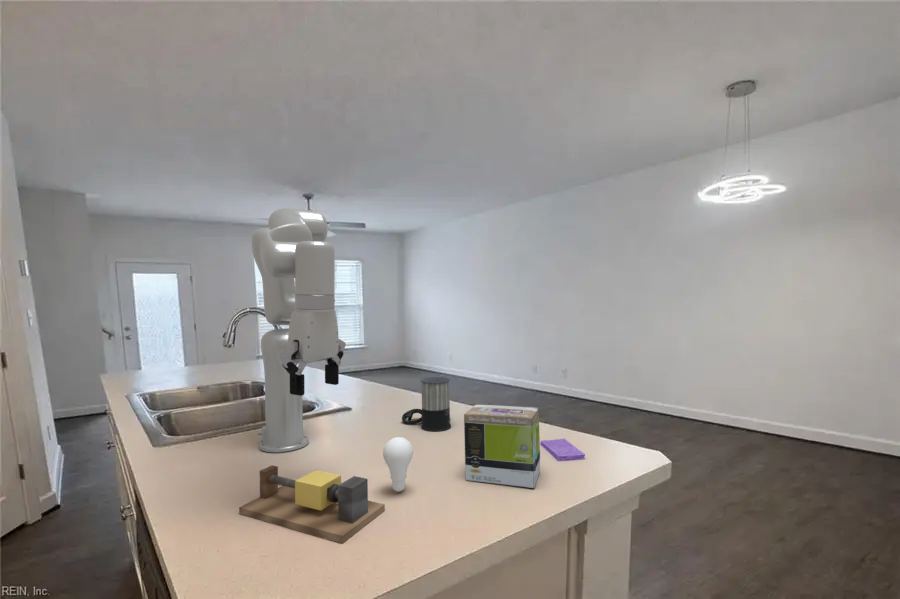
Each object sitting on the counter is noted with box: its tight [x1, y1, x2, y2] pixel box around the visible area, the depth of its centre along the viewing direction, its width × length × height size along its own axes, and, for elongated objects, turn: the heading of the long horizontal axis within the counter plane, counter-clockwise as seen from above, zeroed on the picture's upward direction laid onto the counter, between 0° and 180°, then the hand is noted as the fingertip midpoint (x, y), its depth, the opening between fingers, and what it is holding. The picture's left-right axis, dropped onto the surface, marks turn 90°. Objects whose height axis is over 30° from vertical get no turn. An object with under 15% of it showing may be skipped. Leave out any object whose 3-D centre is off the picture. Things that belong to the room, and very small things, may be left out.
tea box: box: [463, 403, 541, 489], centre depth 97 cm, size 15×10×15 cm, turn 71°
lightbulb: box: [382, 436, 414, 493], centre depth 90 cm, size 6×6×11 cm
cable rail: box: [238, 464, 386, 544], centre depth 81 cm, size 24×12×7 cm, turn 65°
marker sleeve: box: [295, 470, 342, 510], centre depth 81 cm, size 6×5×4 cm
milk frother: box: [401, 376, 452, 432], centre depth 137 cm, size 14×16×15 cm
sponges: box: [540, 438, 586, 462], centre depth 112 cm, size 7×13×2 cm, turn 8°
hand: (315, 389), depth 88 cm, fingers open, 9 cm apart
